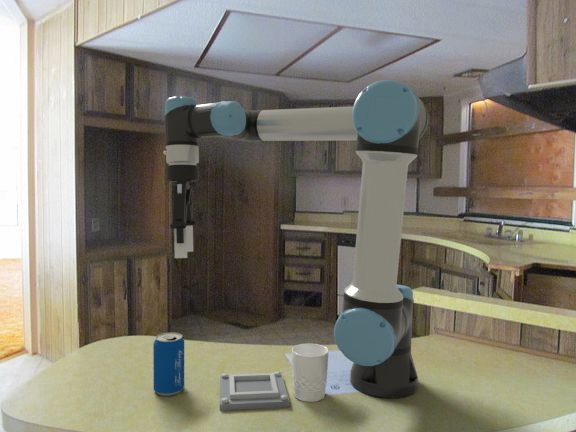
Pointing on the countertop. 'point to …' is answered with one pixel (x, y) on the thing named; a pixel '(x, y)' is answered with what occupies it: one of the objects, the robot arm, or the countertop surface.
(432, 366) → the countertop surface
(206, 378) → the countertop surface
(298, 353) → the white cup
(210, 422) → the countertop surface
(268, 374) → the socket plate
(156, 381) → the beverage can
